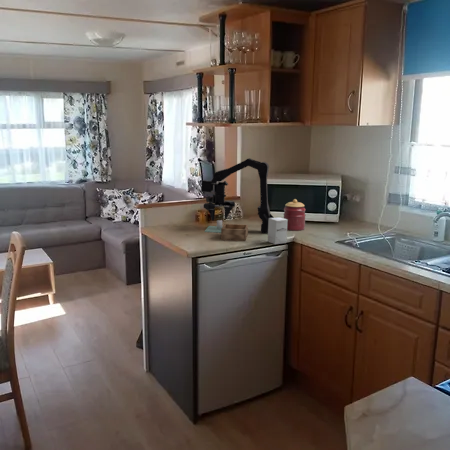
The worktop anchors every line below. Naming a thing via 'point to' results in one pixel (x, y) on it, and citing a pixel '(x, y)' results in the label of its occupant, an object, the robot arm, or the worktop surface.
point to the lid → (215, 227)
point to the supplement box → (277, 230)
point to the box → (234, 232)
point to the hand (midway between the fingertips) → (219, 219)
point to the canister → (295, 215)
